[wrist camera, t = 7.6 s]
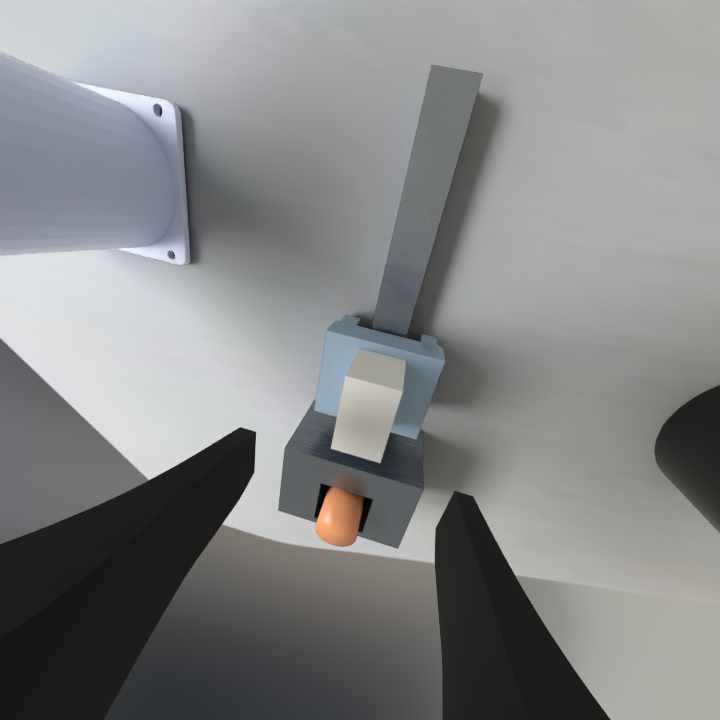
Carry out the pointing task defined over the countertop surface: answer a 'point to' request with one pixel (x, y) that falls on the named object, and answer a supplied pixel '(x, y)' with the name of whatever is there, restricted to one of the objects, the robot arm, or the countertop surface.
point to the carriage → (375, 385)
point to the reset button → (339, 517)
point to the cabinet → (352, 478)
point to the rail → (425, 193)
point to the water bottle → (694, 452)
